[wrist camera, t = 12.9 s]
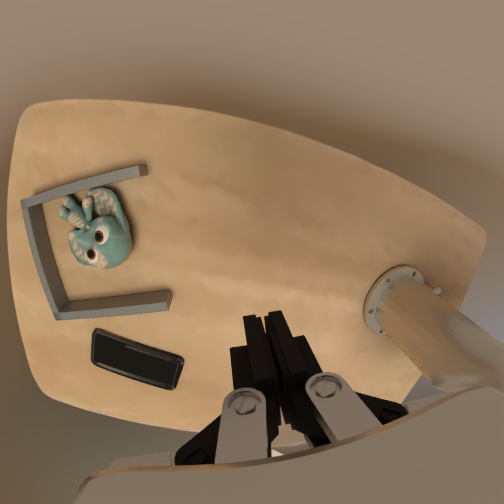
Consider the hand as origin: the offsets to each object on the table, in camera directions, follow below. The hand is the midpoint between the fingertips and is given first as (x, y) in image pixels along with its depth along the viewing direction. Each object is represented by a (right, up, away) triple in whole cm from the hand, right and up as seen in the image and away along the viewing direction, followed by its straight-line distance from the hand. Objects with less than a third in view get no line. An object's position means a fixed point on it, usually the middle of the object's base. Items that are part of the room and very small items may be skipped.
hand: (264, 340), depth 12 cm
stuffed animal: (-20, +7, +20) cm, 29 cm away
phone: (-19, -13, +27) cm, 35 cm away
